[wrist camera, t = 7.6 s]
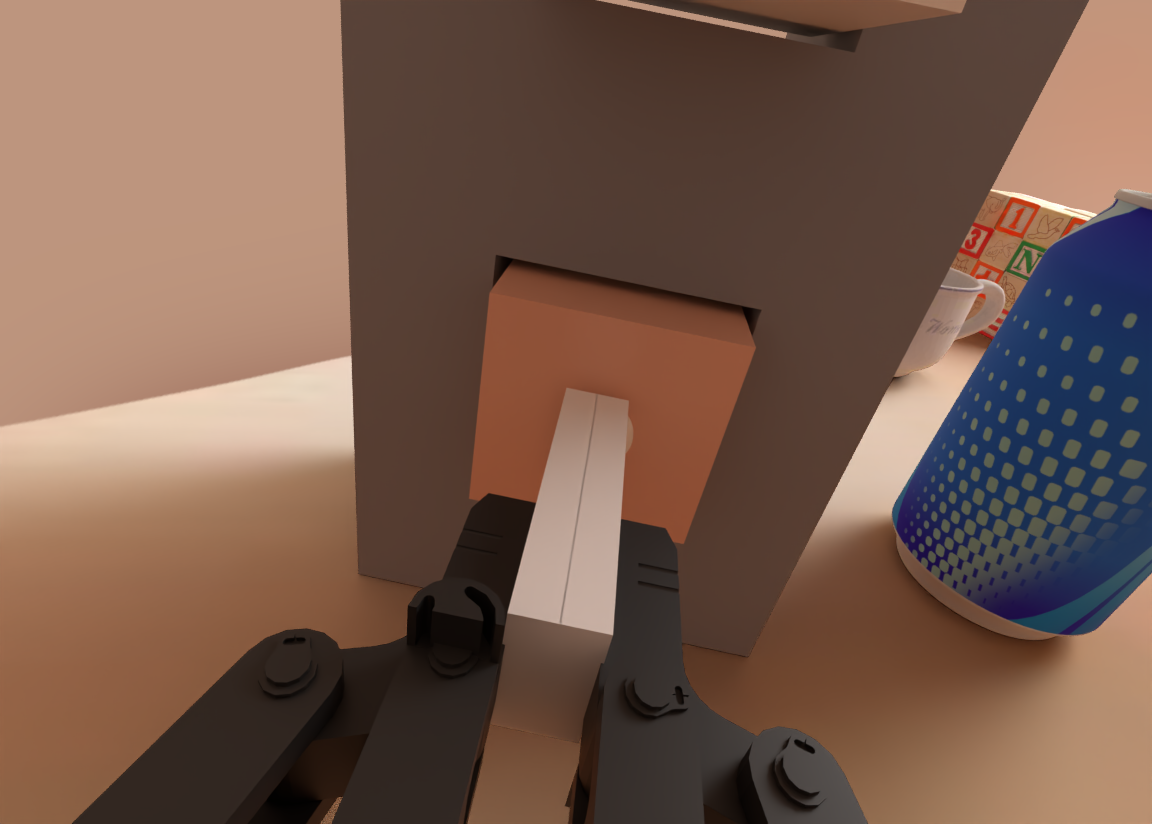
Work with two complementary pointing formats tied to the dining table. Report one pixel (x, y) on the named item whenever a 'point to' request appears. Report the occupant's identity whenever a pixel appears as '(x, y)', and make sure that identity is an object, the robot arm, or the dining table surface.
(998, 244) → the stack of blocks
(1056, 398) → the beer can
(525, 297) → the lower button
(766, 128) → the button post
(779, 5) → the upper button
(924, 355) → the teacup
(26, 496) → the dining table surface
